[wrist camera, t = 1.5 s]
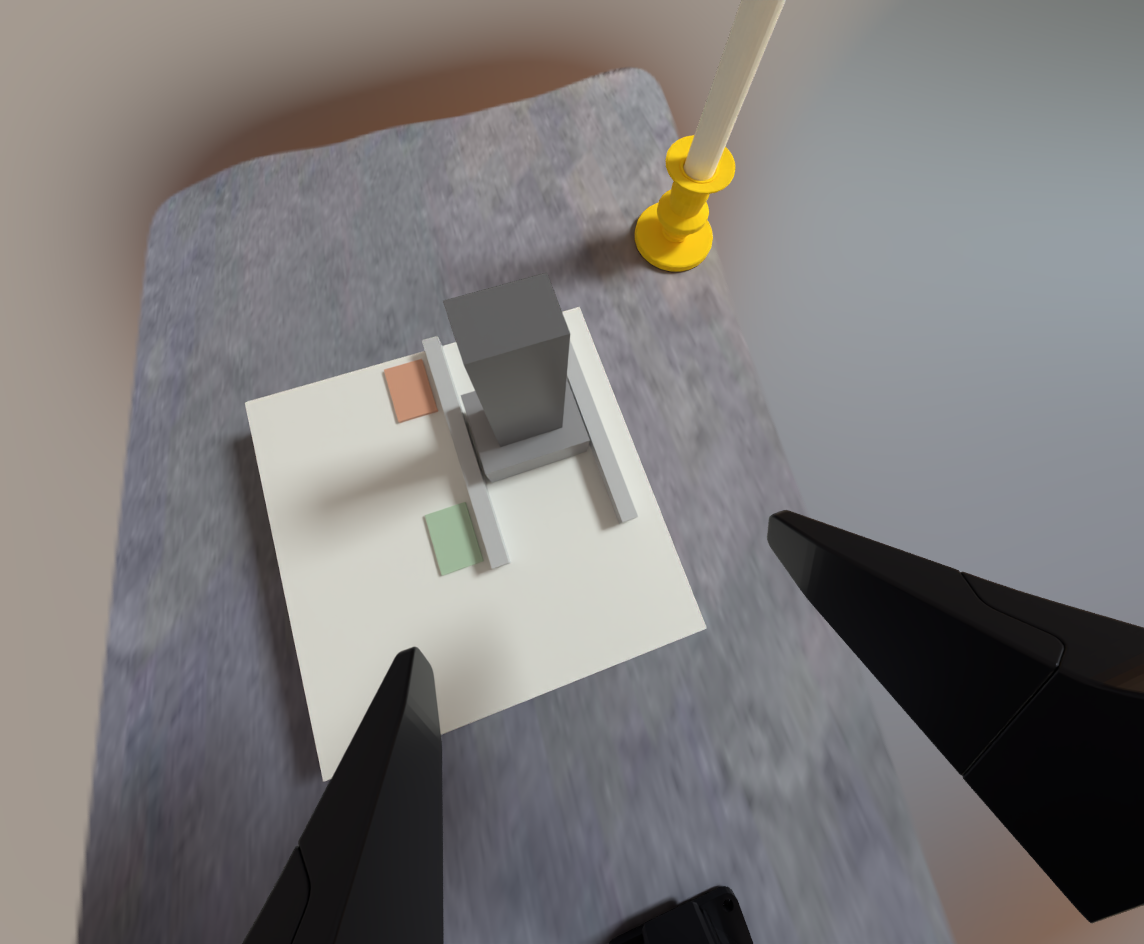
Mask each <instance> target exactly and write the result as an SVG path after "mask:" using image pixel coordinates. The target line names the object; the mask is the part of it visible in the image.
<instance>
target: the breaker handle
mask: <svg viewBox="0 0 1144 944" xmlns="http://www.w3.org/2000/svg"><path fill="white" fill-rule="evenodd" d="M443 303H444V306H445V309H446V312H447V315H448V318H449V321H450V324H451V328H452V331H453V334H454V337H455V340H456V343H457V346H458V349H459V352H460V355H461V358H462V361H463V365H464V367H465V369H466V371H467V374H468V376H469V378H470V380H471V383H472V385H473V387H474V389H475V391H473V392H470V393H467V394H463V395H461V398H462V402H463V405H464V408H465V411H466V414H467V417H468V421H469V424H470V427H471V430H472V433H473V436H474V439H475V443H476V446H477V449H478V452H479V455H480V458H481V461H482V465H483V468H484V471H485V474H486V476H487V477H488V478H489V480H490V481H491V482H492V483H493V482H496V481H499V480H502V479H505V478H508V477H511V476H514V475H517V474H520V473H523V472H526V471H529V470H532V469H535V468H538V467H541V466H544V465H548V464H551V463H554V462H557V461H560V460H563V459H566V458H569V457H572V456H575V455H578V454H581V453H584V452H586V451H587V448H588V445H589V442H590V439H589V437H588V434H587V431H586V429H585V426H584V423H583V421H582V418H581V415H580V413H579V410H578V407H577V405H576V402H575V399H574V397H573V394H572V391H571V389H570V386H569V383H568V381H567V368H568V356H569V344H570V331H569V329H568V326H567V323H566V321H565V318H564V316H563V313H562V311H561V308H560V305H559V303H558V300H557V298H556V295H555V292H554V290H553V287H552V285H551V282H550V279H549V277H548V274H547V273H543V274H540V275H536V276H532V277H529V278H525V279H521V280H518V281H514V282H510V283H507V284H503V285H499V286H496V287H492V288H488V289H485V290H481V291H477V292H474V293H470V294H466V295H463V296H459V297H455V298H451V299H448V300H444V301H443Z"/></svg>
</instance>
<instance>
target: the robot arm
mask: <svg viewBox="0 0 1144 944" xmlns="http://www.w3.org/2000/svg"><path fill="white" fill-rule="evenodd" d="M767 540H768V543H769V546H770V547H771V549H772V550H773V552H774V553H775V554H776V556H777V557H778V559H779V560H780V562H781V563H782V564H783V566H784V567H785V569H786V570H787V571H788V573H789V574H790V576H791V577H792V579H793V580H794V581H795V583H796V584H797V586H798V587H799V588H800V590H801V591H802V592H803V594H804V595H805V596H806V598H807V599H808V600H809V601H810V602H811V604H812V605H813V606H814V607H815V608H816V609H817V611H818V612H819V613H820V614H821V615H822V616H823V618H824V619H825V620H826V621H827V622H828V623H829V624H830V626H831V627H832V628H833V629H834V630H835V631H836V632H837V634H838V635H839V636H840V637H841V638H842V639H843V641H844V642H845V643H846V644H847V645H848V646H849V647H850V649H851V650H852V651H853V652H854V653H855V654H856V655H857V657H858V658H859V659H860V660H861V661H862V662H863V664H864V665H865V666H866V667H867V668H868V669H869V670H870V672H871V673H872V674H873V675H874V676H875V677H876V678H877V680H878V681H879V682H880V683H881V684H882V685H883V686H884V688H885V689H886V690H887V691H888V692H889V693H890V695H891V696H892V697H893V698H894V699H895V700H896V701H897V703H898V704H899V705H900V706H901V707H902V708H903V709H904V711H905V712H906V713H907V714H908V715H909V716H910V717H911V719H912V720H913V721H914V722H915V723H916V724H917V725H918V727H919V728H920V729H921V730H922V731H923V732H924V733H925V735H926V736H927V737H928V738H929V739H930V740H931V742H932V743H933V744H934V745H935V746H936V747H937V749H938V750H939V751H940V752H941V753H942V754H943V755H944V756H945V758H946V759H947V760H948V761H949V762H950V764H951V765H952V766H953V767H954V768H955V769H956V770H957V771H958V773H959V774H960V775H962V776H963V779H964V780H965V781H966V782H967V783H968V785H969V786H970V787H971V788H972V789H973V790H974V791H975V793H977V795H978V796H979V797H980V798H981V799H982V801H983V802H984V803H985V804H986V805H987V806H988V807H989V809H990V810H991V811H992V812H993V813H994V814H995V816H996V817H997V818H998V819H999V820H1000V821H1001V823H1003V825H1004V826H1005V827H1006V828H1007V829H1008V831H1009V832H1010V833H1011V834H1012V835H1013V836H1014V837H1015V839H1016V840H1017V841H1018V842H1019V843H1020V844H1021V845H1022V846H1023V848H1024V849H1025V850H1026V851H1027V852H1028V853H1029V855H1030V856H1031V857H1032V858H1033V859H1034V860H1035V861H1036V863H1037V864H1038V865H1039V866H1040V867H1041V868H1042V869H1043V871H1044V872H1045V873H1046V874H1047V875H1048V876H1049V877H1050V879H1051V880H1052V881H1053V882H1054V883H1055V885H1056V886H1057V887H1058V888H1059V889H1060V890H1061V891H1062V893H1063V894H1064V895H1065V896H1066V897H1067V898H1068V899H1069V901H1070V902H1071V903H1072V904H1073V905H1074V906H1075V907H1076V908H1077V910H1078V911H1079V912H1080V913H1081V914H1082V915H1083V916H1084V917H1085V918H1086V919H1087V920H1088V921H1089V922H1090V923H1095V922H1098V921H1101V920H1103V919H1106V918H1109V917H1112V916H1115V915H1118V914H1121V913H1123V912H1126V911H1129V910H1132V909H1135V908H1137V907H1140V906H1143V905H1144V628H1143V627H1140V626H1136V625H1132V624H1129V623H1126V622H1123V621H1119V620H1116V619H1112V618H1109V617H1106V616H1102V615H1099V614H1095V613H1092V612H1088V611H1085V610H1082V609H1078V608H1075V607H1071V606H1068V605H1065V604H1061V603H1058V602H1054V601H1051V600H1048V599H1045V598H1041V597H1038V596H1034V595H1031V594H1028V593H1024V592H1022V591H1018V590H1015V589H1012V588H1009V587H1006V586H1003V585H1000V584H997V583H994V582H991V581H988V580H985V579H983V578H980V577H977V576H974V575H971V574H968V573H965V572H959V570H956V569H954V568H951V567H948V566H945V565H942V564H940V563H937V562H934V561H931V560H928V559H925V558H922V557H919V556H916V555H914V554H911V553H908V552H905V551H903V550H900V549H897V548H894V547H891V546H888V545H885V544H883V543H880V542H877V541H874V540H871V539H868V538H865V537H863V536H860V535H857V534H854V533H851V532H848V531H845V530H843V529H840V528H837V527H834V526H831V525H828V524H826V523H823V522H820V521H817V520H814V519H811V518H809V517H806V516H803V515H800V514H797V513H794V512H791V511H788V510H783V511H780V512H777V513H775V514H772V515H771V516H770V517H769V524H768V534H767ZM298 844H299V846H296V847H295V849H294V850H293V852H292V854H291V856H290V858H289V860H288V862H287V864H286V866H285V868H284V869H283V871H282V873H281V875H280V877H279V879H278V881H277V882H276V884H275V886H274V888H273V890H272V892H271V893H270V895H269V897H268V899H267V901H266V903H265V904H264V906H263V908H262V910H261V912H260V914H259V915H258V917H257V919H256V921H255V922H254V924H253V926H252V927H251V929H250V931H249V933H248V934H247V936H246V938H245V939H244V941H243V943H242V944H444V943H443V816H442V741H441V731H440V723H439V714H438V706H437V697H436V689H435V680H434V673H433V669H432V667H431V665H430V663H429V662H428V660H427V659H426V658H425V656H424V655H423V653H422V652H421V651H420V649H419V648H418V647H415V646H414V647H411V648H408V649H405V650H403V651H400V652H399V653H398V654H397V655H396V656H395V658H394V660H393V662H392V664H391V666H390V668H389V669H388V671H387V673H386V675H385V677H384V679H383V681H382V683H381V685H380V687H379V689H378V690H377V692H376V694H375V696H374V698H373V700H372V702H371V704H370V706H369V708H368V710H367V711H366V713H365V715H364V717H363V719H362V721H361V723H360V725H359V727H358V729H357V731H356V732H355V734H354V736H353V738H352V740H351V742H350V744H349V746H348V748H347V750H346V751H345V753H344V755H343V757H342V759H341V761H340V763H339V765H338V767H337V769H336V771H335V772H334V774H333V776H332V778H331V780H330V782H329V784H328V786H327V788H326V790H325V792H324V793H323V795H322V797H321V799H320V801H319V803H318V805H317V807H316V809H315V811H314V813H313V814H312V816H311V818H310V820H309V822H308V824H307V826H306V828H305V830H304V832H303V834H302V835H301V837H300V839H299V842H298ZM726 899H730V901H729V903H728V904H727V905H723V903H724V901H725V900H726ZM609 944H753V941H752V938H751V936H750V933H749V930H748V927H747V925H746V922H745V919H744V916H743V914H742V911H741V908H740V906H739V903H738V900H737V899H736V897H735V895H734V893H733V891H732V890H731V889H730V888H729V887H726V886H723V887H720V888H718V889H715V890H713V891H711V892H709V893H707V894H705V895H703V896H701V897H699V898H697V899H695V900H693V901H689V902H687V903H685V904H683V905H681V906H679V907H677V908H675V909H673V910H671V911H669V912H667V913H665V914H663V915H661V916H659V917H656V918H654V919H652V920H650V921H648V922H646V923H645V924H643V925H641V926H639V927H637V928H635V929H633V930H631V931H629V932H627V933H625V934H623V935H621V936H619V937H617V938H615V939H613V940H612V941H611V942H610V943H609Z"/></svg>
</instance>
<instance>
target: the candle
mask: <svg viewBox="0 0 1144 944" xmlns="http://www.w3.org/2000/svg"><path fill="white" fill-rule="evenodd" d="M784 3H785V0H741V2H740V5H739V8H738V11H737V14H736V17H735V20H734V23H733V26H732V29H731V31H730V34H729V37H728V40H727V43H726V46H725V49H724V52H723V54H722V58H721V60H720V63H719V66H718V69H717V72H716V75H715V78H714V81H713V83H712V86H711V89H710V92H709V95H708V98H707V101H706V104H705V106H704V109H703V113H702V116H701V118H700V121H699V124H698V127H697V130H696V133H695V135H693V136H687V137H684V138H681V139H679V140H677V141H676V142H675V143H674V144H672V146H671V147H670V149H669V150H668V152H667V156H666V168H667V171H668V173H669V175H670V177H671V178H672V179H673V181H674V182H673V185H672V189H671V190H669V191H667V192H666V193H665V194H664V195H662V197H661V198H660V200H659V203H656V204H654V205H652V206H650V207H648V208H647V209H646V210H645V211H644V212H643V213H642V214H641V216H640V217H639V219H638V221H637V225H636V229H635V243H636V245H637V248H638V250H639V252H640V253H641V255H642V256H643V257H644V258H645V259H646V260H647V261H648V262H649V263H650V264H652V265H654V266H656V267H658V268H660V269H663V270H667V271H679V272H680V271H685V270H690V269H692V268H694V267H696V266H698V265H699V264H700V263H701V262H702V261H703V260H704V259H705V258H706V256H707V254H708V253H709V251H710V249H711V245H712V241H713V236H712V229H711V227H710V224H709V222H708V221H707V219H708V215H709V209H708V205H707V202H706V200H707V199H708V197H709V194H710V193H716V192H718V191H720V190H722V189H724V188H725V187H726V186H728V185H729V184H730V182H731V180H732V179H733V177H734V173H735V162H734V159H733V156H732V154H731V153H730V151H729V150H728V149H727V148H726V147H725V145H726V143H727V141H728V138H729V136H730V134H731V131H732V129H733V126H734V124H735V121H736V119H737V117H738V114H739V112H740V109H741V107H742V105H743V102H744V100H745V97H746V95H747V92H748V90H749V87H750V85H751V83H752V80H753V78H754V75H755V73H756V70H757V68H758V65H759V63H760V61H761V59H762V56H763V54H764V51H765V49H766V46H767V44H768V42H769V39H770V37H771V34H772V32H773V29H774V27H775V25H776V22H777V20H778V17H779V15H780V13H781V10H782V8H783V5H784Z"/></svg>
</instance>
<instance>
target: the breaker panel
mask: <svg viewBox="0 0 1144 944" xmlns="http://www.w3.org/2000/svg"><path fill="white" fill-rule="evenodd" d="M562 313H563V316H564V318H565V321H566V323H567V326H568V329H569V331H570V344H569V356H568V368H567V381H568V383H569V386H570V389H571V391H572V394H573V397H574V399H575V402H576V405H577V407H578V410H579V413H580V415H581V418H582V421H583V423H584V426H585V429H586V431H587V434H588V437H589V439H590V442H589V445H588V448H587V451H586V452H584V453H581V454H578V455H575V456H572V457H569V458H566V459H563V460H560V461H557V462H554V463H551V464H548V465H544V466H541V467H538V468H535V469H532V470H529V471H526V472H523V473H520V474H517V475H514V476H511V477H508V478H505V479H502V480H499V481H496V482H493V483H492V482H491V481H490V480H489V478H488V477H487V476H486V474H485V471H484V468H483V465H482V461H481V458H480V455H479V452H478V449H477V446H476V443H475V439H474V436H473V433H472V430H471V427H470V424H469V421H468V417H467V414H466V411H465V408H464V405H463V402H462V398H461V395H463V394H467V393H470V392H473V391H475V389H474V387H473V385H472V383H471V380H470V378H469V376H468V374H467V371H466V369H465V367H464V365H463V361H462V358H461V355H460V352H459V349H458V346H457V343H456V342H455V343H451V344H448V345H444V346H442V344H441V342H440V340H439V338H438V336H436V337H432V338H428V339H425V340H422V342H423V345H424V349H425V351H423V352H420V353H416V354H413V355H409V356H406V357H402V358H399V359H395V360H392V361H388V362H385V363H381V364H378V365H374V366H371V367H367V368H364V369H360V370H357V371H353V372H350V373H346V374H343V375H339V376H336V377H332V378H329V379H325V380H322V381H318V382H315V383H311V384H308V385H304V386H301V387H297V388H294V389H290V390H287V391H283V392H280V393H276V394H273V395H269V396H266V397H262V398H259V399H255V400H252V401H248V402H245V405H246V410H247V415H248V420H249V424H250V429H251V434H252V439H253V444H254V449H255V454H256V458H257V463H258V468H259V473H260V478H261V483H262V487H263V492H264V497H265V502H266V507H267V512H268V516H269V521H270V526H271V531H272V536H273V541H274V545H275V550H276V555H277V560H278V565H279V570H280V575H281V579H282V584H283V589H284V594H285V599H286V604H287V608H288V613H289V618H290V623H291V628H292V633H293V637H294V642H295V647H296V652H297V657H298V662H299V666H300V671H301V676H302V681H303V686H304V691H305V696H306V700H307V705H308V710H309V715H310V720H311V725H312V729H313V734H314V739H315V744H316V749H317V754H318V758H319V763H320V768H321V773H322V778H323V782H324V781H327V780H329V779H331V778H332V776H333V774H334V772H335V771H336V769H337V767H338V765H339V763H340V761H341V759H342V757H343V755H344V753H345V751H346V750H347V748H348V746H349V744H350V742H351V740H352V738H353V736H354V734H355V732H356V731H357V729H358V727H359V725H360V723H361V721H362V719H363V717H364V715H365V713H366V711H367V710H368V708H369V706H370V704H371V702H372V700H373V698H374V696H375V694H376V692H377V690H378V689H379V687H380V685H381V683H382V681H383V679H384V677H385V675H386V673H387V671H388V669H389V668H390V666H391V664H392V662H393V660H394V658H395V656H396V655H397V654H398V653H399V652H400V651H403V650H405V649H408V648H411V647H414V646H415V647H418V648H419V649H420V651H421V652H422V653H423V655H424V656H425V658H426V659H427V660H428V662H429V663H430V665H431V667H432V669H433V673H434V680H435V689H436V697H437V706H438V714H439V723H440V731H441V735H442V734H444V733H447V732H449V731H452V730H454V729H457V728H459V727H461V726H464V725H466V724H469V723H471V722H474V721H476V720H479V719H481V718H484V717H486V716H489V715H491V714H494V713H496V712H499V711H501V710H504V709H506V708H509V707H511V706H514V705H516V704H519V703H521V702H524V701H526V700H529V699H531V698H534V697H536V696H539V695H541V694H544V693H546V692H549V691H551V690H554V689H556V688H559V687H561V686H564V685H566V684H569V683H571V682H574V681H576V680H579V679H581V678H584V677H586V676H589V675H591V674H594V673H596V672H599V671H601V670H604V669H606V668H609V667H611V666H614V665H616V664H619V663H621V662H624V661H626V660H629V659H631V658H634V657H636V656H639V655H641V654H644V653H646V652H649V651H651V650H654V649H656V648H659V647H661V646H664V645H666V644H669V643H671V642H674V641H676V640H679V639H681V638H684V637H686V636H689V635H691V634H694V633H696V632H699V631H701V630H704V629H706V625H705V623H704V620H703V618H702V615H701V612H700V610H699V607H698V605H697V602H696V600H695V597H694V595H693V592H692V590H691V587H690V585H689V582H688V580H687V577H686V575H685V572H684V570H683V567H682V565H681V562H680V560H679V557H678V554H677V552H676V549H675V547H674V544H673V542H672V539H671V537H670V534H669V532H668V529H667V527H666V524H665V522H664V519H663V517H662V514H661V512H660V509H659V507H658V504H657V502H656V499H655V496H654V494H653V491H652V489H651V486H650V484H649V481H648V479H647V476H646V474H645V471H644V469H643V466H642V464H641V461H640V459H639V456H638V454H637V451H636V449H635V446H634V444H633V441H632V438H631V436H630V433H629V431H628V428H627V426H626V423H625V421H624V418H623V416H622V413H621V411H620V408H619V406H618V403H617V401H616V398H615V396H614V393H613V391H612V388H611V386H610V383H609V380H608V378H607V375H606V373H605V370H604V368H603V365H602V363H601V360H600V358H599V355H598V353H597V350H596V348H595V345H594V343H593V340H592V338H591V335H590V333H589V330H588V328H587V325H586V322H585V320H584V317H583V315H582V312H581V310H580V307H578V308H574V309H571V310H567V311H564V312H562Z"/></svg>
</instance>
